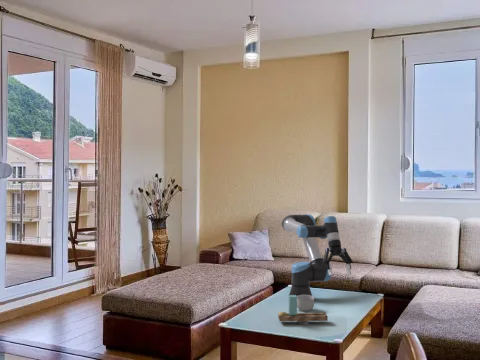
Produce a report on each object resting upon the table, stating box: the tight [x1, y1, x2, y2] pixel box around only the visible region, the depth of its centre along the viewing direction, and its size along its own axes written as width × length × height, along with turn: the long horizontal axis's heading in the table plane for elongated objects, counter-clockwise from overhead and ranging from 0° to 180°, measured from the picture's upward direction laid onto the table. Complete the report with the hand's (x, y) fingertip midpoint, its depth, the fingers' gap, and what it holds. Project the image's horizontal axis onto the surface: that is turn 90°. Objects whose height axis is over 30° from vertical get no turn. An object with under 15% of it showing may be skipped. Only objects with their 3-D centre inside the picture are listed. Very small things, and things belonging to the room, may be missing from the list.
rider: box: [288, 294, 298, 316], centre depth 287 cm, size 4×4×12 cm
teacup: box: [297, 295, 315, 312], centre depth 314 cm, size 14×11×8 cm
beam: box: [277, 311, 329, 326], centre depth 288 cm, size 26×7×6 cm, turn 92°
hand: (340, 274), depth 314 cm, fingers open, 13 cm apart
